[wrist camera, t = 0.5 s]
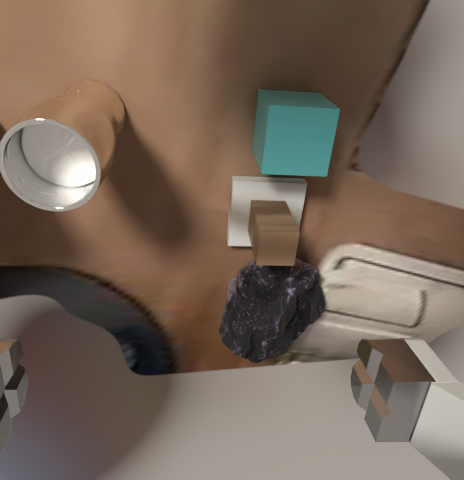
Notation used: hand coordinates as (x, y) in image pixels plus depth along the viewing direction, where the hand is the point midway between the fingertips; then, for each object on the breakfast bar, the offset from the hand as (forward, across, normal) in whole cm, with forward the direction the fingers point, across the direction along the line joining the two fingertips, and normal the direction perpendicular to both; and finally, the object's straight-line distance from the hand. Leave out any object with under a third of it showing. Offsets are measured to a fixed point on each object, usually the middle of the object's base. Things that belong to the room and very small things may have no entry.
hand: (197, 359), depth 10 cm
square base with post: (+36, -9, +9) cm, 38 cm away
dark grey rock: (+38, -12, +21) cm, 45 cm away
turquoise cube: (+35, -10, -1) cm, 36 cm away
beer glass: (+35, +9, -1) cm, 37 cm away
